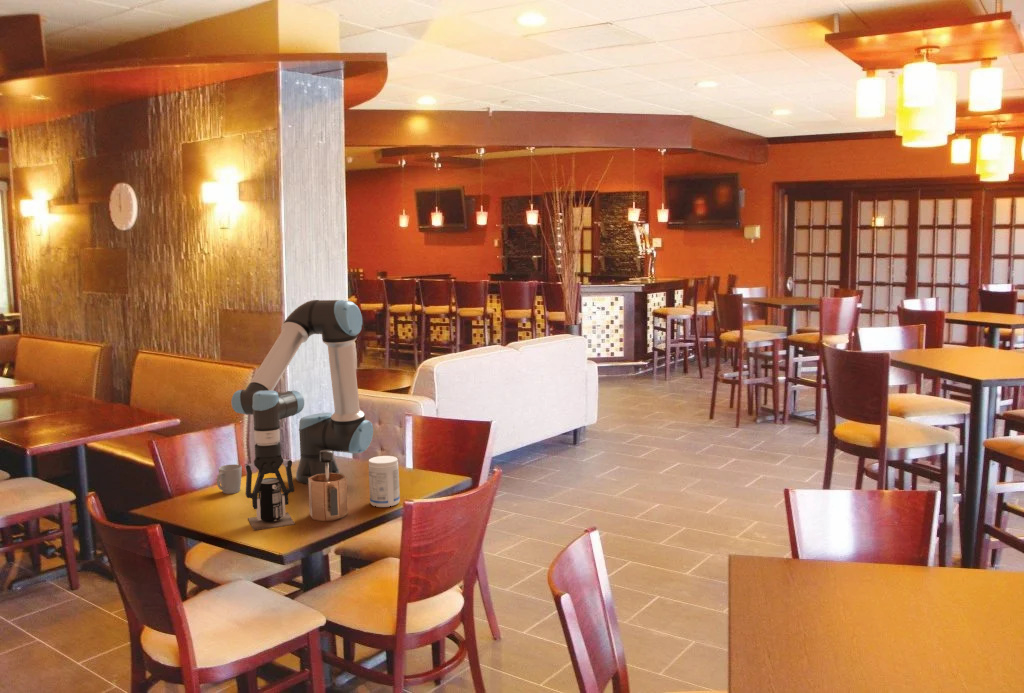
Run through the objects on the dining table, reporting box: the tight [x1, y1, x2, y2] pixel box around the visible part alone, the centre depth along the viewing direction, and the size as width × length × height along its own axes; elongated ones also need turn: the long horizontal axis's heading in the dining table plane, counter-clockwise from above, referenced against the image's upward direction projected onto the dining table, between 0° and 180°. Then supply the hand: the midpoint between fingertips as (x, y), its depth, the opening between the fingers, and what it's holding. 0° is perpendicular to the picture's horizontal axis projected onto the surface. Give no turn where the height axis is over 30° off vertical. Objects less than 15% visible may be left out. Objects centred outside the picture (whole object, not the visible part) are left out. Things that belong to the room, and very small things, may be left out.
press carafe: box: [307, 472, 349, 522], centre depth 258 cm, size 14×11×12 cm
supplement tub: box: [367, 455, 401, 508], centre depth 271 cm, size 10×10×15 cm
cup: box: [216, 463, 243, 495], centre depth 285 cm, size 8×10×8 cm
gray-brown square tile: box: [247, 512, 296, 532], centre depth 255 cm, size 12×12×1 cm
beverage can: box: [258, 477, 282, 522], centre depth 254 cm, size 7×7×12 cm
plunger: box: [320, 450, 333, 482], centre depth 259 cm, size 8×8×17 cm
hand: (271, 517), depth 255 cm, fingers closed on beverage can, 7 cm apart
